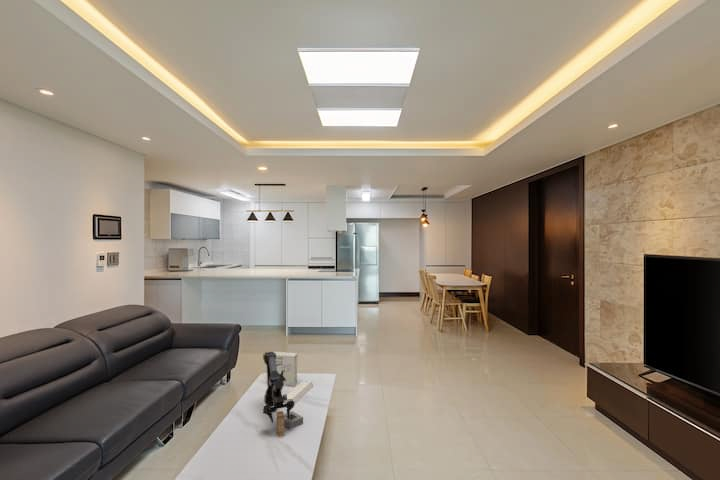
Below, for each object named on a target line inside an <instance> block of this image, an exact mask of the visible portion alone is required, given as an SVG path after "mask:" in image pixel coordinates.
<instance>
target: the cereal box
mask: <svg viewBox="0 0 720 480" xmlns="http://www.w3.org/2000/svg"><path fill="white" fill-rule="evenodd" d="M273 352H274V353H276V359H275V362H276V367H277V372H278V373H279V374H280V377H281V378H282V380H283V383H284V385H283V387H291V388H292V387H293V388H295V386H296V385H297V384H298V383H297V382H298V353H297V352H284V351H273Z"/></svg>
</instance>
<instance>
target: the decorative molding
mask: <svg viewBox="0 0 720 480" xmlns="http://www.w3.org/2000/svg"><path fill="white" fill-rule="evenodd" d="M312 388H314V383H313V381H312V380H310V381H303V382H300V383H299V384H298V385H297V386H296V387H294V388H293V389H292V390H291V391H290V392H288V394H287V400H284V403H283V404H287V402H288V401H294V404H295V405H296V403H297V402H299V401H300V400H301V398H303V397H304V396H305V395H306V394H307V393H308V392H309V391H310V390H311V389H312Z"/></svg>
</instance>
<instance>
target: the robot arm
mask: <svg viewBox="0 0 720 480" xmlns="http://www.w3.org/2000/svg"><path fill="white" fill-rule="evenodd" d="M274 352H275V351H268V352H264V354H262V359H263V362H264V364H265V365H266V381H267V382H266V383H267V384H266V385H267V388H266V390H265V392H264V393H265V394H264V397H263V402H264V404H265V405H264V406H263V408H262V414H265V415H267V417H268V418H269V419H270V421H271V423H272V424H273V423H274V418H273V414H272V413H274V412H276V411H278V409H284V408H286V413H287V419H289V413H290V412H291V411H292V409H293V408H294V407H295V405H296V403H295V404H294V401H288V402H287V403H286V404H285V403H284V400H287V395H288V394H287V393H285V394H282V391H283V387H284V386H283V385H284V383H283V380H282V378H281V377H280V374H279V373H278V372H277V367H276V362H275V359H276V353H274Z"/></svg>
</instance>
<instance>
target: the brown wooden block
mask: <svg viewBox="0 0 720 480" xmlns="http://www.w3.org/2000/svg"><path fill="white" fill-rule="evenodd" d="M284 414H285V412H284V411H277V412H276V435H277V437H278V438H279V437H284V436H285V426H284Z"/></svg>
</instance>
